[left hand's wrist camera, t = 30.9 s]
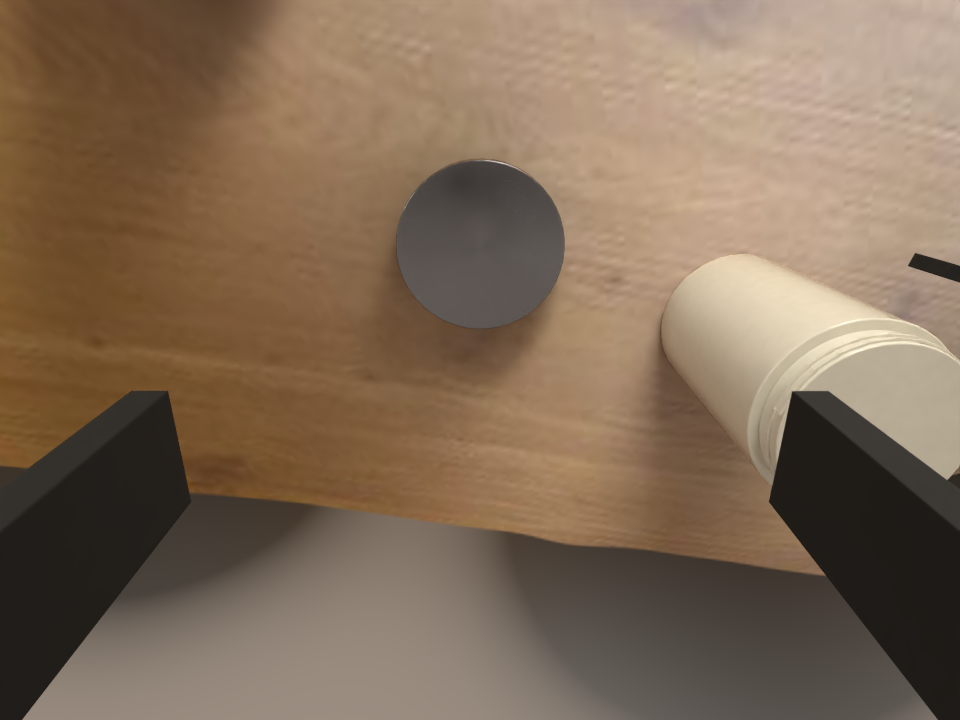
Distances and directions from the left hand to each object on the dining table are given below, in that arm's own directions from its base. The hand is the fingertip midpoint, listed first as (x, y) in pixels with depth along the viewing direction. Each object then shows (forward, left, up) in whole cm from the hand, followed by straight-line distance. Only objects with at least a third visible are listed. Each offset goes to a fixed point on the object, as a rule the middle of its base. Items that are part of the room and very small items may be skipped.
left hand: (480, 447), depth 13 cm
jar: (+18, 0, -26) cm, 31 cm away
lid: (0, 0, -24) cm, 25 cm away
